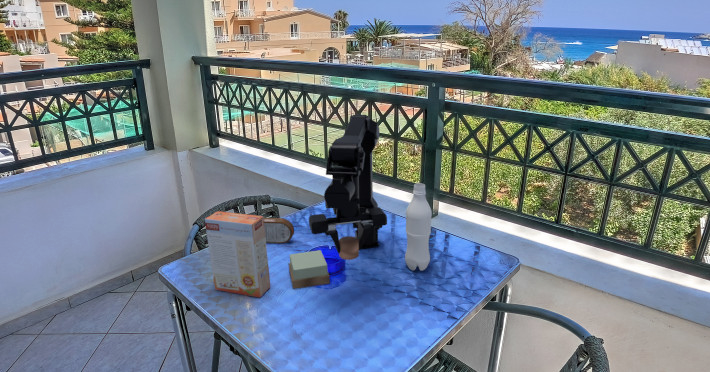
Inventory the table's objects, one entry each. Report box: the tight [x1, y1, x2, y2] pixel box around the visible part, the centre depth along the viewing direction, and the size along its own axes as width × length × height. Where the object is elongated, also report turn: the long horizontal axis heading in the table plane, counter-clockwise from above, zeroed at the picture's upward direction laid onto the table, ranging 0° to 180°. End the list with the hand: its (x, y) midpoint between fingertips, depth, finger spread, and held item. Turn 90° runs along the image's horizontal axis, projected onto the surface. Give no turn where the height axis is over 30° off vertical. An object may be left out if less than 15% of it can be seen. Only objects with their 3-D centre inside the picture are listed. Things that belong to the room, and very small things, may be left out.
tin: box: [263, 217, 295, 245], centre depth 137 cm, size 15×3×8 cm, turn 84°
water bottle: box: [404, 182, 433, 272], centre depth 117 cm, size 7×7×25 cm
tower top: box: [289, 249, 329, 280], centre depth 116 cm, size 9×9×3 cm
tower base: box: [288, 262, 331, 290], centre depth 117 cm, size 10×10×3 cm
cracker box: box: [204, 210, 271, 298], centre depth 109 cm, size 14×6×21 cm, turn 71°
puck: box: [338, 235, 360, 261], centre depth 106 cm, size 5×5×4 cm
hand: (348, 251), depth 106 cm, fingers closed on puck, 5 cm apart
